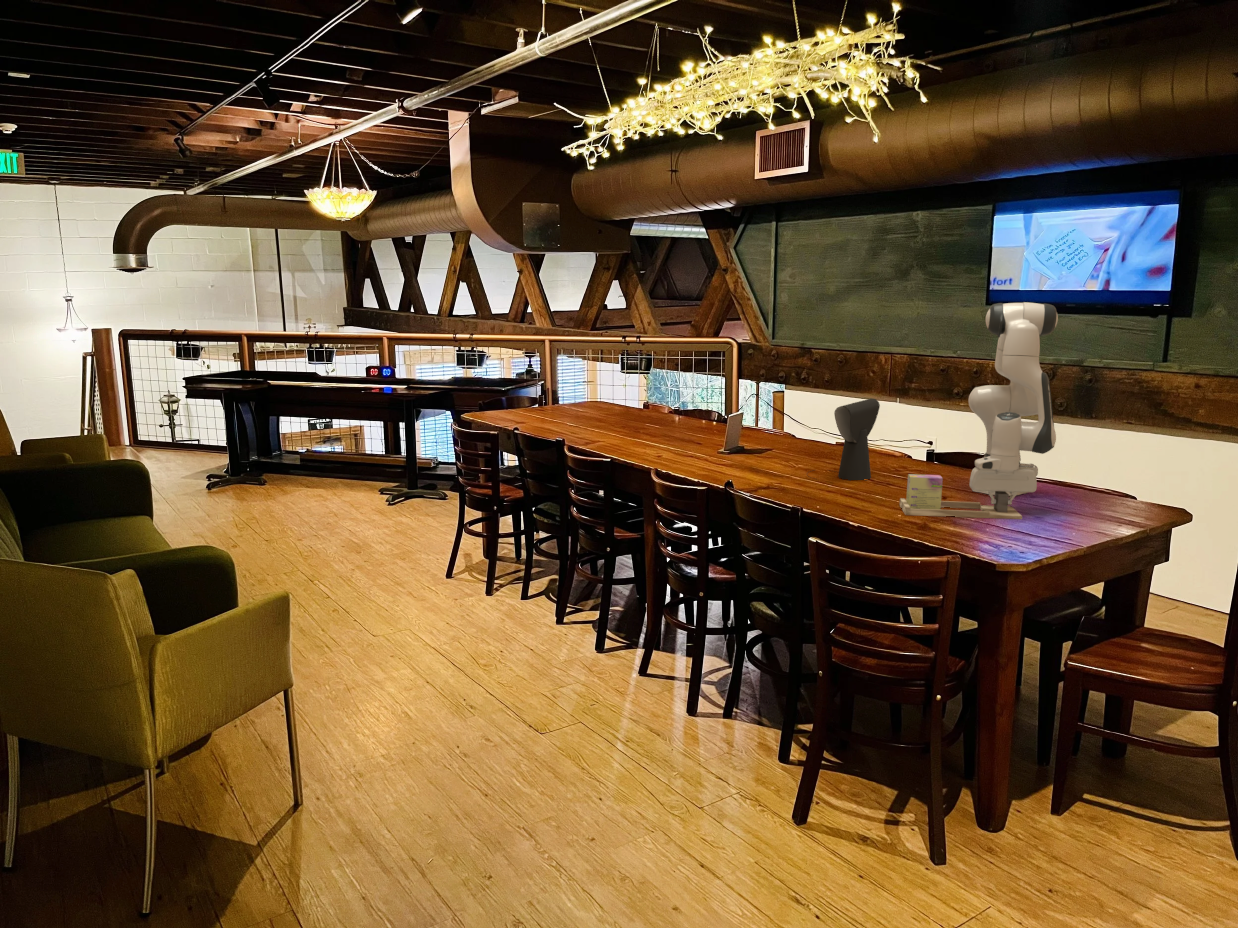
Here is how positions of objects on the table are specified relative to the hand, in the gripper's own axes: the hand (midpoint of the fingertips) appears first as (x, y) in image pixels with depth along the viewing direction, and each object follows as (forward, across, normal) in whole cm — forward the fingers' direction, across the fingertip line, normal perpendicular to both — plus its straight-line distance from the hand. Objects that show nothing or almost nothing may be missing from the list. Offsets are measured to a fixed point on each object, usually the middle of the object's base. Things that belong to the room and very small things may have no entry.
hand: (1001, 504), depth 291 cm
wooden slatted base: (+3, +13, 0) cm, 13 cm away
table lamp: (+3, +47, -48) cm, 68 cm away
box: (+3, +24, 0) cm, 25 cm away
